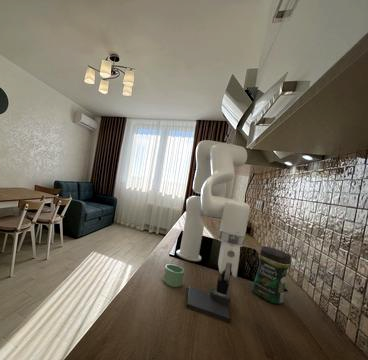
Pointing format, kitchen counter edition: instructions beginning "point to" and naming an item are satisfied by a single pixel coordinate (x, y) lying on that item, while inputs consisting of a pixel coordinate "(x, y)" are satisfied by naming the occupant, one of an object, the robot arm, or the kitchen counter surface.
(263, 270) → the coffee jar
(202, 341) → the kitchen counter surface
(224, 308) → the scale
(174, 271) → the green cup
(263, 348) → the kitchen counter surface
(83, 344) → the kitchen counter surface
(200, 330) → the kitchen counter surface
